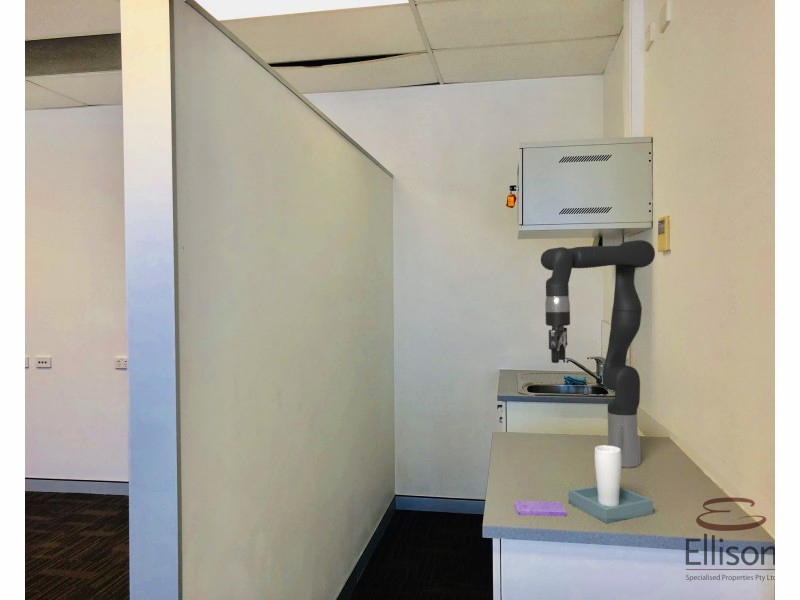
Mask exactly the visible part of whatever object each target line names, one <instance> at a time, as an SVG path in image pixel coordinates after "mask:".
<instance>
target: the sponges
mask: <svg viewBox="0 0 800 600" xmlns="http://www.w3.org/2000/svg"><path fill="white" fill-rule="evenodd" d="M515 507H516V508H515ZM514 508H515V510H517V511H516V513H518V514H517V515H518V516H528V515H530V516H532V515H535V516H534V517H536V516H539V517H540V516H543V517H546V516H547V517H565V516H567V511H566V509H565V508H564V506H563V505H562V503H561V501H531V500H524V501H523V500H514Z"/></svg>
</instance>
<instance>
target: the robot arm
mask: <svg viewBox="0 0 800 600" xmlns="http://www.w3.org/2000/svg"><path fill="white" fill-rule="evenodd" d="M655 257H656V250H655V248H654V246H653V245H652V243H651V242H650V241H646V240H643V239H642V240H641V239H640V240H639V239H637V240H628V241H624V242H621V244H619V245H598V246H597V245H592V246H591V245H590V246H589V245H588V246H576V247H575V246H574V247H570V248H567V247H564V246H561V247H553V248H549V249H546V250H544V251H543V253H541V256H540V264H541V265H542V267H543V268H544V269H546V270H548V271H552V273H551V277H549V278H547V280H546V281H545V304H544V305H545V306H544V307H545V325H546V326H548V327H551V329H549V330H548V350H550V354H551V357H550V358H551V363H553V364H558V363H559V362H560V361H565V360H566V348H567V346H568V344H569V343H568V328H567V327H565V326H570V325H571V301H570V297H569V293H570V292H569V291H570V289H569V288H570V287H569V282H570V279H571V273H572V269H589V268H592V269H593V268H599V267H600V268H601V267H606V266H615V279H614V282H615V283H614V294H613V303H612V310H611V317H610V329H609V330H610V331H609V337H608V345H607V346H608V347H607V352H606V356H605V361H604V365H603V369H602V376H601V377H602V383H603V385H604V387H605V388H607V389H609V390H610V391H614V399H613V401H610V402H608V404H607V443H608V444H607V446H614V447H618V448H620V449H621V468H629V469H630V468H636V467H637V466H639V465H641V436H640V435H639V434H638V432H639V431H638V408H639V406H640V401H641V399H640V398H641V393H640V392H641V380H640V379H641V376H640V374H639V371H638V370H637V369H636V368H635V367H633V366H630V365H626V364H627V357H628V351H629V348H630V346H631V344H632V342H633V341H634V339H635V338H636V336H637V335H638V332H639V331H640V326H641V321H642V314H643V313H642V311H643V310H642V308H643V307H642V303H641V300H640V297H639V295H638V292H637V289H636V286H635V273H636V269H640V268H645V267H647V266H649V265H651V264H652V263H653V262H654V259H655Z"/></svg>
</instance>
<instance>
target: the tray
mask: <svg viewBox="0 0 800 600" xmlns="http://www.w3.org/2000/svg"><path fill="white" fill-rule="evenodd" d="M567 495H568V496H567V497H568V504H570V505H571V506H572V507H575V508H577V509H578V510H581V511H583V512H584V513H586V514H588V515H590V516H591V517H593V518H596V519H597V520H599V521H601V522H603V523H605V524H612V523H616V522H620V521H625V520H629V519H630V520H631V519H634V518H640V517H645V516H648V515H649V516H651V515H653V514H654V504H653V503H654V500H652V499H650V498H648V497H645V496H643V495H641V494H638V493H636V492H634V491H632V490H629V489H627V488H625V487H623V486H620V491H619V505H618V506H612V507H605V506H602V505H600V504H599V503H598V491H597V485H593V486H592V485H591V486H587V487H586V486H585V487H581V488H575V489H570V490H568V493H567Z"/></svg>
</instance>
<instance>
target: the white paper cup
mask: <svg viewBox="0 0 800 600" xmlns="http://www.w3.org/2000/svg"><path fill="white" fill-rule="evenodd" d="M594 470H595V480H596V486H597V491H598V503H599V504H600V505H602V506H605V507H612V506H618V505H619V491H620V487H621V475H622V467H621V449H620V448H618V447H614V446H608V445H606V444H605V445H596V446H595V447H594Z"/></svg>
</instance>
